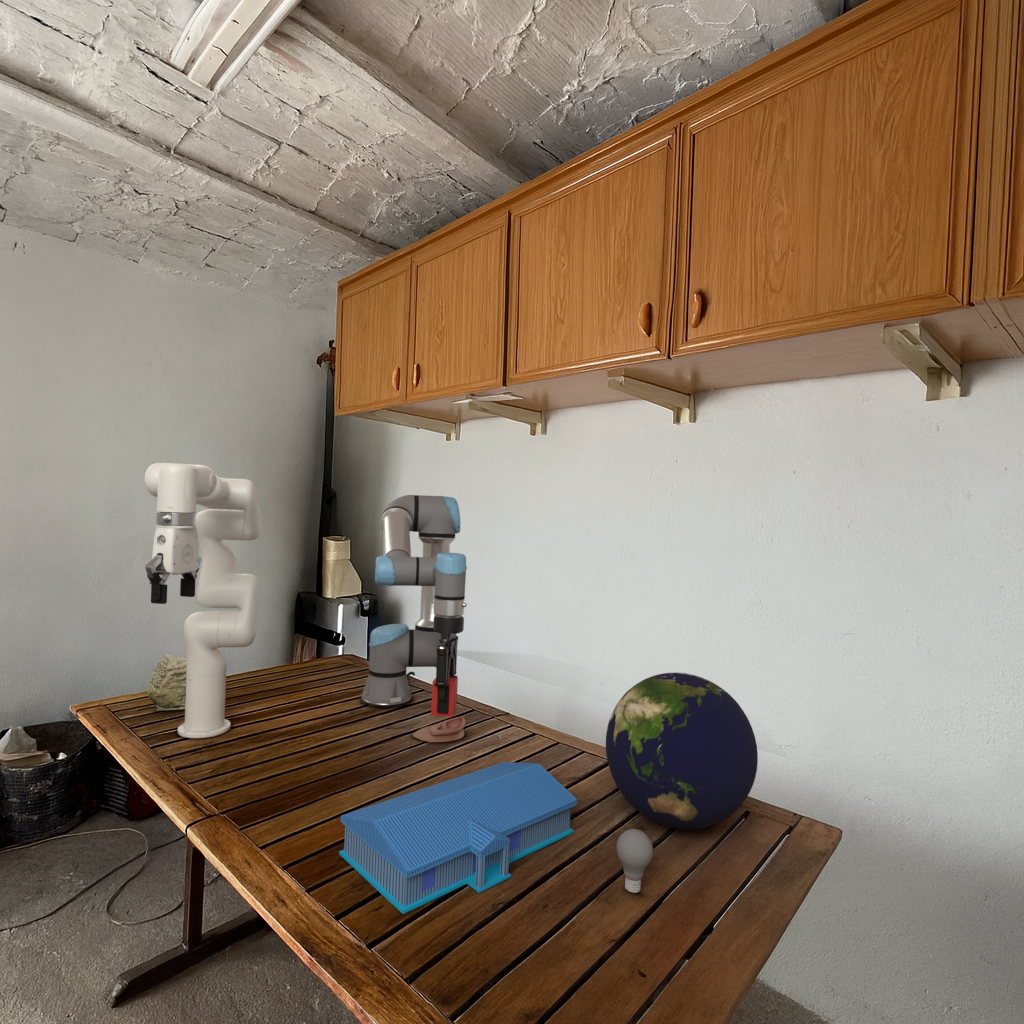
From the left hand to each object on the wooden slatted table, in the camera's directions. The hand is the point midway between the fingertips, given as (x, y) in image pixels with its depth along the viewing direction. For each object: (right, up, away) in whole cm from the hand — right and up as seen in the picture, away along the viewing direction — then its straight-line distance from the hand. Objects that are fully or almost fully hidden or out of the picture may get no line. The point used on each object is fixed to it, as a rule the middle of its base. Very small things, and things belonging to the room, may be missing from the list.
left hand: (173, 599), depth 137 cm
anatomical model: (+53, -42, +34) cm, 76 cm away
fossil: (-23, -38, +48) cm, 65 cm away
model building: (+65, -43, -20) cm, 80 cm away
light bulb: (+93, -44, -31) cm, 108 cm away
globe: (+107, -45, -7) cm, 116 cm away
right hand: (+56, -30, +20) cm, 67 cm away
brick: (+56, -31, +20) cm, 67 cm away
